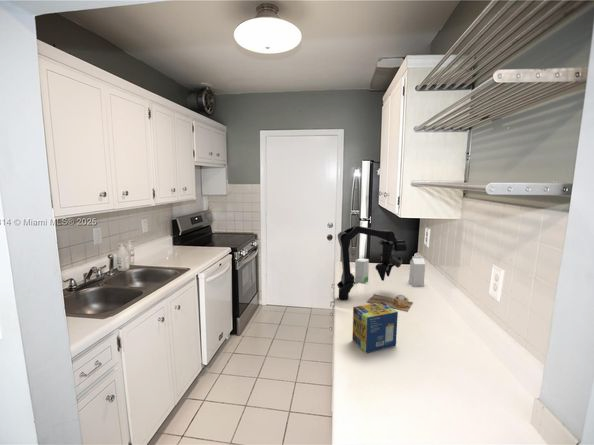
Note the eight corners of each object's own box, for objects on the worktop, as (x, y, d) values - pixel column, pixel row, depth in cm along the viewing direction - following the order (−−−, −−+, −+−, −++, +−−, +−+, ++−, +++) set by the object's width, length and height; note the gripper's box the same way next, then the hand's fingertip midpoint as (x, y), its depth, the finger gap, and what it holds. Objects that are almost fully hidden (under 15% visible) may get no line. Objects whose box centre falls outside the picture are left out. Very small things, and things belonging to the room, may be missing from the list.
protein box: (351, 340, 129) (352, 306, 127) (381, 333, 134) (382, 301, 132) (365, 353, 119) (366, 317, 117) (396, 346, 125) (398, 311, 122)
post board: (407, 314, 153) (408, 302, 152) (366, 304, 164) (366, 293, 163) (413, 304, 164) (413, 293, 163) (374, 296, 176) (374, 285, 175)
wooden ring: (406, 308, 156) (406, 302, 156) (392, 305, 160) (392, 299, 159) (409, 303, 162) (409, 297, 162) (395, 301, 166) (396, 295, 165)
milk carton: (423, 286, 192) (425, 258, 189) (412, 286, 192) (414, 257, 189) (419, 282, 199) (421, 255, 196) (408, 282, 199) (410, 255, 196)
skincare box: (363, 285, 195) (364, 262, 192) (354, 282, 199) (354, 260, 196) (368, 281, 201) (369, 259, 199) (359, 279, 205) (360, 257, 203)
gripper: (396, 257, 157) (394, 286, 159) (406, 250, 172) (404, 276, 174) (375, 254, 163) (374, 281, 165) (386, 248, 178) (385, 273, 180)
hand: (385, 278), depth 171 cm, fingers open, 9 cm apart
